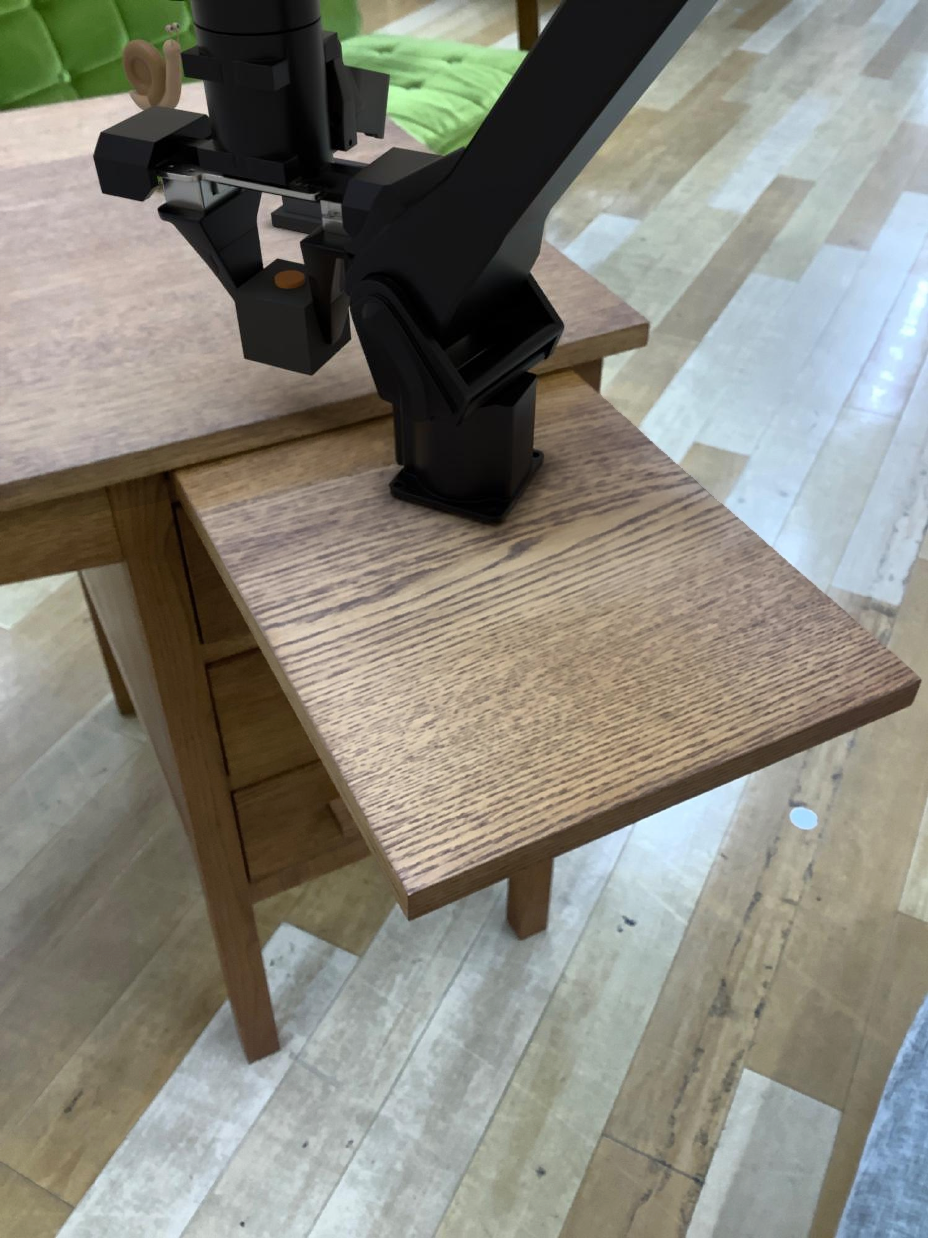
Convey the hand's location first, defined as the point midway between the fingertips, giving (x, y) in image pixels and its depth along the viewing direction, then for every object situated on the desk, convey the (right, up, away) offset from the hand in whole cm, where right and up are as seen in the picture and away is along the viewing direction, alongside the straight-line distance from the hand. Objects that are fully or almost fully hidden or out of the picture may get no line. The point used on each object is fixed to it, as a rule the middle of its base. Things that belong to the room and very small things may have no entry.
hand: (296, 332), depth 58 cm
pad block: (0, -1, +1) cm, 1 cm away
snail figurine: (-15, +20, +28) cm, 37 cm away
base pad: (+1, +16, +23) cm, 28 cm away
